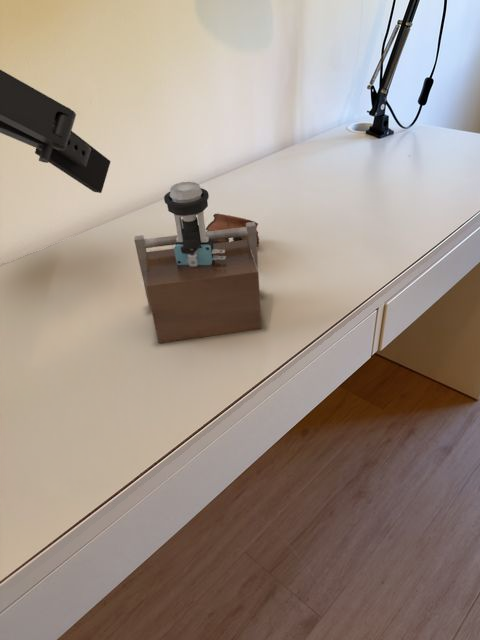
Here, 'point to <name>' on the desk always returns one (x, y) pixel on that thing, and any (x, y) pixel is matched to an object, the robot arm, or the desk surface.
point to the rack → (202, 287)
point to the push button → (191, 224)
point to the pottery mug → (229, 226)
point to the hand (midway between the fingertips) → (39, 167)
